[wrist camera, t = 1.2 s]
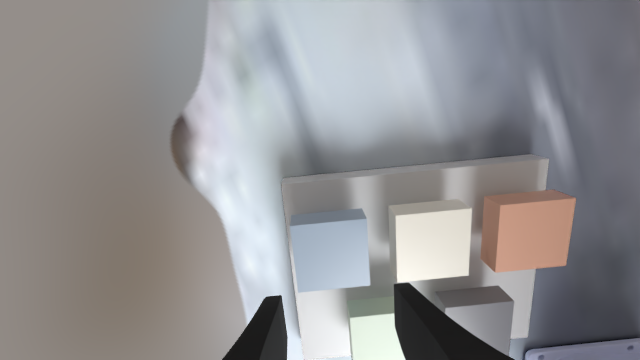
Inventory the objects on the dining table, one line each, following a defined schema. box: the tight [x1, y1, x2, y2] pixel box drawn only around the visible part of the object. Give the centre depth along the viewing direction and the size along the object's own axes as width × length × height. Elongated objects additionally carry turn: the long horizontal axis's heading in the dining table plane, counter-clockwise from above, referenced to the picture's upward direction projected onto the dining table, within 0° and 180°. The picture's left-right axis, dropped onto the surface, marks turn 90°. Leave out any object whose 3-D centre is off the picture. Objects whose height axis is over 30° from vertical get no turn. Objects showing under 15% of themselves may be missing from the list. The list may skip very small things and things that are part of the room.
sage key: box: [347, 296, 405, 360], centre depth 18 cm, size 4×4×2 cm
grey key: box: [435, 285, 514, 356], centre depth 19 cm, size 4×4×2 cm
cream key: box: [388, 199, 472, 283], centre depth 17 cm, size 4×4×2 cm
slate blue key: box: [290, 208, 370, 293], centre depth 17 cm, size 4×4×2 cm
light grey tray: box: [281, 154, 549, 360], centre depth 20 cm, size 16×13×2 cm
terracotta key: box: [480, 190, 576, 273], centre depth 17 cm, size 4×4×2 cm
